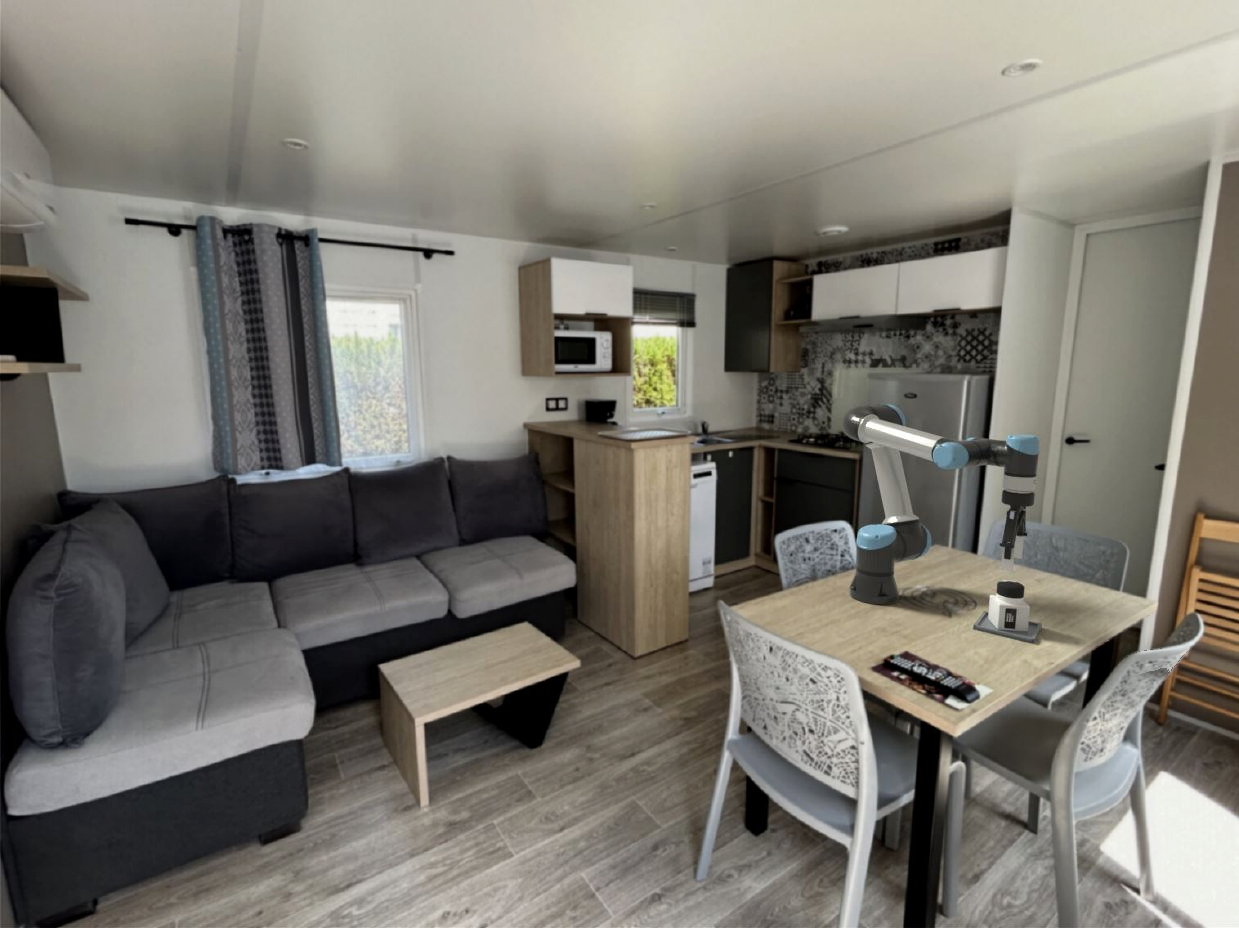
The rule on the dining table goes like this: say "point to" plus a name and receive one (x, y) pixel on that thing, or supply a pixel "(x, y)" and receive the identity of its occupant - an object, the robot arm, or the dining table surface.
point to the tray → (988, 627)
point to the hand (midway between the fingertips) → (1011, 563)
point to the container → (1009, 607)
